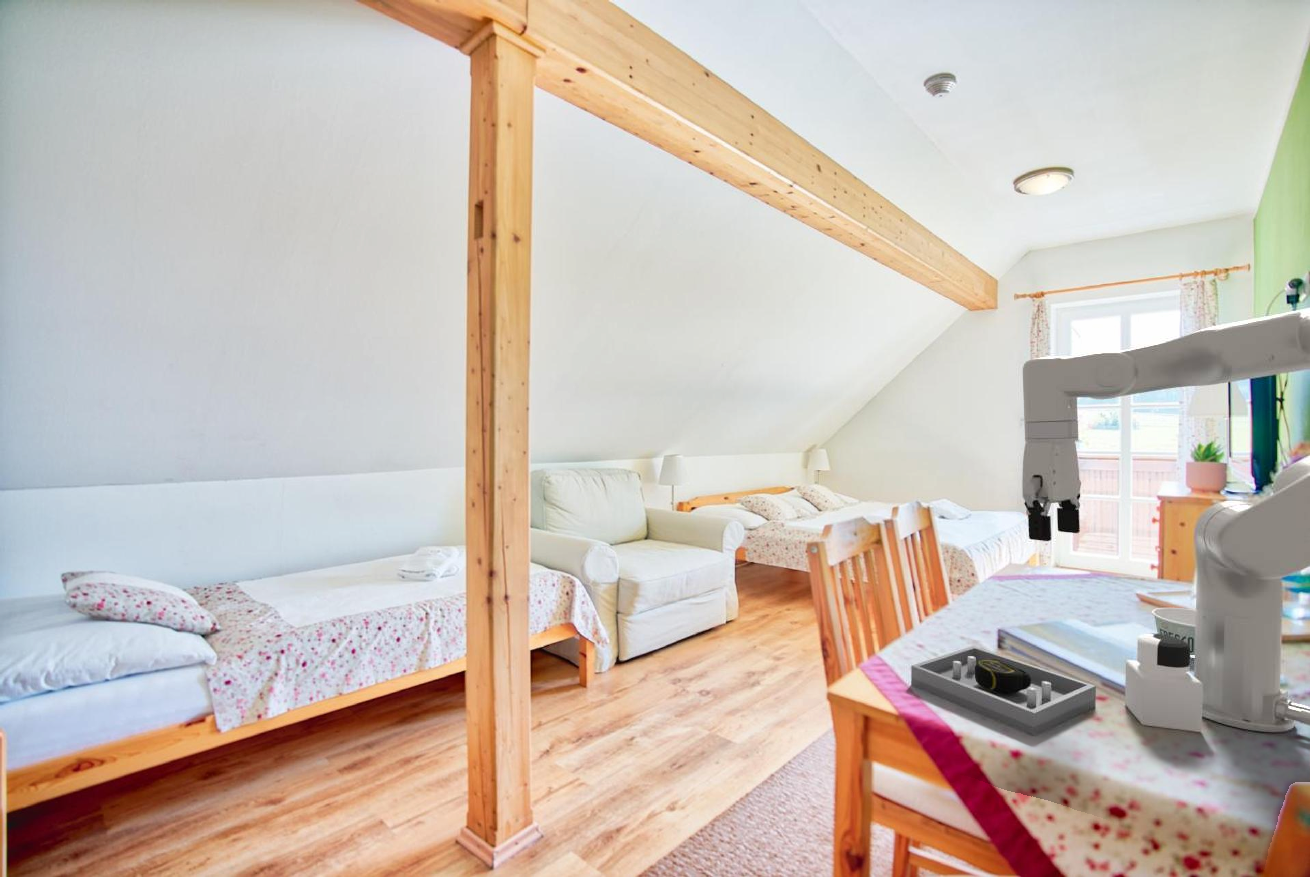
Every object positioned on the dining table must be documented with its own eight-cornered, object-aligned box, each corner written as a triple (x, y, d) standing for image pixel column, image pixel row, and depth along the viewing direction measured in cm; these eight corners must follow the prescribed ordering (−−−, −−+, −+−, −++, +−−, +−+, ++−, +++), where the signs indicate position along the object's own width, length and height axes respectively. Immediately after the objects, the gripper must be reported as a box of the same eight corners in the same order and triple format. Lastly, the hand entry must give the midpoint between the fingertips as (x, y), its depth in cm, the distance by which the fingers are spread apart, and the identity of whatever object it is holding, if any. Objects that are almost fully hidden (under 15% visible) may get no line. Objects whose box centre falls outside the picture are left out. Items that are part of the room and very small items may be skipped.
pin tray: (1095, 706, 99) (1095, 682, 99) (1034, 735, 90) (1034, 709, 90) (972, 663, 116) (973, 643, 116) (911, 684, 107) (911, 662, 107)
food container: (1243, 654, 120) (1244, 619, 119) (1221, 669, 113) (1222, 632, 113) (1164, 636, 130) (1165, 603, 129) (1140, 648, 123) (1141, 614, 123)
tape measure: (1033, 694, 100) (1034, 670, 100) (999, 701, 98) (1000, 677, 98) (997, 677, 107) (997, 655, 107) (964, 683, 105) (964, 660, 104)
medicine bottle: (1180, 711, 97) (1182, 632, 97) (1202, 733, 90) (1204, 648, 90) (1124, 704, 99) (1125, 627, 99) (1142, 725, 93) (1143, 643, 92)
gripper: (1052, 430, 114) (1055, 527, 115) (1000, 435, 105) (1004, 540, 105) (1100, 429, 108) (1103, 531, 108) (1049, 434, 98) (1053, 546, 99)
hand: (1054, 536), depth 107 cm, fingers open, 9 cm apart
